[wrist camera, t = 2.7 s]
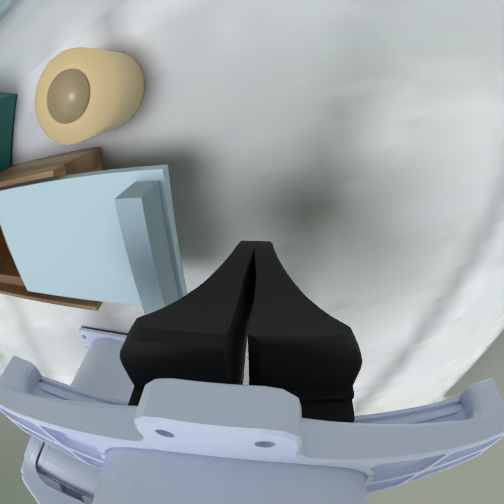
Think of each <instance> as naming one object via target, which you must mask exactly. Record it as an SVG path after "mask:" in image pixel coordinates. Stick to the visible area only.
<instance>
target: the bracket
mask: <svg viewBox="0 0 504 504" xmlns="http://www.w3.org/2000/svg"><path fill="white" fill-rule="evenodd" d="M16 95H17V94H7V93H0V173H1V172H2V171H4V170H6V169H8V168H10V164H11V140H12V127H13V118H14V109H15V102H16Z"/></svg>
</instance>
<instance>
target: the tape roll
mask: <svg viewBox="0 0 504 504" xmlns="http://www.w3.org/2000/svg"><path fill="white" fill-rule="evenodd" d="M144 87H145V82H144V76H143V72H142V69H141V67H140V66H139V64H138V63H137V61H136V60H135V59H134V58H133V57H131V56H130V55H128V54H126V53H123V52H119V51H111V50H102V49H92V48H71V49H68V50H65V51H63V52H61V53H60V54H58V55H57V56H56V57H54V58H53V59H52V60H51V61H50V62H49V64H48V65H47V66H46V68H45V69H44V71H43V73H42V74H41V77H40V79H39V82H38V85H37V88H36V94H35V110H36V116H37V119H38V122H39V124H40V126H41V128H42V130H43V131H44V133H45V134H46V135H47V136H48V137H49V138H51V139H52V140H54V141H55V142H58V143H61V144H75V143H78V142H80V141H83V140H85V139H88V138H90V137H93V136H95V135H98V134H101V133H103V132H106V131H109V130H111V129H114V128H117V127H119V126H121V125H123V124H125V123H126V122H127V121H129V120H130V119H131V118H132V117H133V115H134V114H135V113H136V111H137V110H138V108H139V106H140V104H141V101H142V99H143V95H144Z"/></svg>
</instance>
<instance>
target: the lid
mask: <svg viewBox="0 0 504 504" xmlns="http://www.w3.org/2000/svg"><path fill="white" fill-rule="evenodd" d="M0 225H1V228H2V231H3V234H4V236H5V239H6V242H7V244H8V247H9V250H10V252H11V255H12V257H13V260H14V262H15V264H16V267H17V269H18V271H19V274H20V276H21V278H22V280H23V282H24V284H25V287H26V289H27V291H31V292H37V293H43V294H50V295H56V296H63V297H70V298H77V299H85V300H92V301H101V302H109V303H118V304H128V305H137V306H142V307H143V310H144V313H145V315H147V314H149V313H152V312H154V311H157V310H159V309H161V308H164V307H166V306H168V305H170V304H172V303H173V302H175V301H177V300H179V299H181V298H182V297H184V296H185V295H187V290H186V284H185V279H184V273H183V268H182V262H181V256H180V250H179V244H178V237H177V231H176V224H175V217H174V210H173V202H172V195H171V187H170V178H169V169H168V165H154V166H141V167H130V168H120V169H111V170H102V171H94V172H86V173H79V174H72V175H66V176H59V177H53V178H47V179H42V180H36V181H31V182H26V183H21V184H16V185H11V186H7V187H2V188H0Z"/></svg>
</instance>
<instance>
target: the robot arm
mask: <svg viewBox="0 0 504 504" xmlns="http://www.w3.org/2000/svg"><path fill="white" fill-rule="evenodd" d="M79 334H80V335H81V337H82V339H83V341H84V343H85V344H86V346H87V348H88V349H89V350H88V352H87V354H86V356H85V358H84V360H83V362H82V364H81V366H80V368H79V370H78V372H77V374H76V376H75V378H74V380H73V382H72V384H71V386H70V385H66V384H64V383H61V382H58V381H55V380H52V379H49V378H47V377H44V376H42V375H41V373H40V372H39V370H38V369H37V368H36V367H35V366H34V365H33V364H32V363H31V362H29V361H26V360H24V359H21V358H19V357H16V356H13V357H12V359H11V361H10V362H9V364H8V366H7V367H6V369H5V371H4V372H3V374H2V376H1V377H0V410H1V411H2V412H3V413H4V414H5V415H6V416H7V417H8V418H9V419H10V420H11V421H13V422H14V423H15V424H16V425H17V426H18V427H20V428H21V429H22V430H23V431H25V432H27V433H29V434H30V435H31V438H30V441H29V443H28V446H27V448H26V451H25V455H24V457H25V459H24V462H23V465H22V468H21V473H22V474H23V475H22V479H23V481H24V483H25V485H26V486H27V488H28V489H29V490H30V492H31V493H32V495H33V496H34V498H35V499H36V501H37V502H38V503H39V504H367V493H370V492H375V491H379V490H383V489H387V488H391V487H395V486H398V485H401V484H405V483H408V482H411V481H414V480H417V479H420V478H423V477H426V476H429V475H432V474H434V473H437V472H440V471H442V470H445V469H448V468H451V467H453V466H455V465H458V464H460V463H463V462H465V461H468V460H470V459H472V458H474V457H476V456H478V455H479V454H480V453H482V452H483V451H485V450H486V449H488V448H489V447H490V446H492V445H493V444H494V443H496V442H497V441H498V440H499V439H501V438H502V437H504V403H503V401H502V398H501V396H500V393H499V391H498V389H497V386H496V384H495V382H494V380H493V378H490V379H487V380H484V381H480V382H477V383H474V384H472V385H470V386H469V387H467V388H466V389H465V390H464V391H463V393H462V394H461V396H460V397H458V398H454V399H450V400H446V401H442V402H438V403H434V404H429V405H424V406H419V407H414V408H409V409H403V410H397V411H391V412H384V413H377V414H369V415H360V416H354V410H353V404H352V399H353V398H354V391H353V384H354V382H355V380H356V378H357V375H358V373H359V371H360V369H361V365H362V358H361V352H360V349H359V346H358V343H357V341H356V338H355V336H354V334H353V332H352V330H351V328H350V327H349V326H347V325H345V324H344V323H342V322H340V321H338V320H337V319H335V318H333V317H331V316H330V315H329V314H327V313H326V312H324V311H323V310H321V309H320V308H319V307H318V306H316V305H315V304H314V303H313V302H312V301H311V300H309V299H308V298H307V297H306V296H305V295H304V294H303V293H302V292H301V290H300V289H299V288H298V287H297V286H296V285H295V283H294V282H293V281H292V280H291V278H290V277H289V275H288V274H287V272H286V271H285V269H284V268H283V266H282V264H281V263H280V261H279V259H278V257H277V255H276V253H275V250H274V248H273V244H272V243H271V242H269V241H241V242H240V243H239V244H238V245H237V247H236V248H235V249H234V251H233V252H232V253H231V254H230V256H229V257H228V258H227V259H226V260H225V262H224V263H223V264H222V265H221V266H220V267H219V268H218V269H217V270H216V271H215V272H214V273H213V274H212V275H211V276H210V277H209V278H208V279H207V280H206V281H205V282H204V283H202V284H201V285H200V286H199V287H197V288H196V289H194V290H193V291H191V292H190V293H188V294H187V295H185V296H184V297H182V298H181V299H179V300H177V301H175V302H173V303H172V304H170V305H168V306H166V307H164V308H161V309H159V310H157V311H154V312H152V313H149V314H147V315H144V316H142V317H139V318H137V319H136V321H135V322H134V324H133V326H132V327H131V329H130V331H129V333H128V335H123V334H116V333H110V332H104V331H98V330H92V329H87V328H80V329H79ZM247 337H248V353H249V385H243V377H244V364H245V352H246V343H247ZM37 459H38V460H37ZM49 476H50V477H49ZM51 477H52V478H54V479H55V480H54V479H52V478H51ZM56 480H57V481H56ZM58 481H59V482H58ZM60 482H61V483H60ZM62 483H63V484H62ZM64 484H65V485H64ZM66 485H67V486H66ZM68 486H69V487H68ZM70 487H71V488H70ZM72 488H73V489H72ZM74 489H75V490H74ZM76 490H78V491H80V492H78V491H76ZM81 492H82V493H81ZM83 493H84V494H83ZM85 494H87V495H89V496H87V495H85ZM90 496H91V497H90ZM92 497H93V498H92Z"/></svg>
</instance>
